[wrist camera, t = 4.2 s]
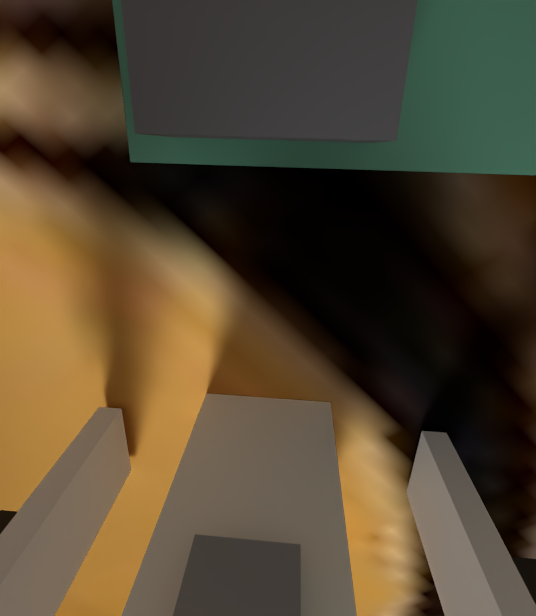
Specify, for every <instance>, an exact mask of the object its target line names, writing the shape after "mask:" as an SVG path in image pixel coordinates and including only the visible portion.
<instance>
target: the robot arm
mask: <svg viewBox="0 0 536 616" xmlns="http://www.w3.org/2000/svg"><path fill="white" fill-rule="evenodd" d="M130 471H131V465H130V459H129V452H128V446H127V440H126V434H125V428H124V422H123V415H122V409H121V408H107V407H99V408H98V409H97V411H96V412H95V413H94V414H93V416H92V417H91V418H90V420H89V421H88V422H87V423H86V425H85V426H84V427H83V429H82V430H81V431H80V432H79V434H78V435H77V436H76V438H75V439H74V440H73V441H72V443H71V444H70V445H69V447H68V448H67V449H66V450H65V452H64V453H63V454H62V456H61V457H60V458H59V459H58V461H57V462H56V463H55V465H54V466H53V467H52V468H51V470H50V471H49V472H48V474H47V475H46V476H45V477H44V479H43V480H42V481H41V483H40V484H39V485H38V486H37V488H36V489H35V490H34V492H33V493H32V494H31V495H30V497H29V498H28V499H27V501H26V502H25V503H24V504H23V506H22V507H21V508H20V510H19V511H18V512H15V511H4V510H1V511H0V616H55V614H56V612H57V610H58V608H59V606H60V604H61V603H62V601H63V599H64V597H65V595H66V593H67V591H68V589H69V587H70V585H71V583H72V582H73V580H74V578H75V576H76V574H77V572H78V570H79V568H80V566H81V564H82V563H83V561H84V559H85V557H86V555H87V553H88V551H89V549H90V547H91V545H92V543H93V542H94V540H95V538H96V536H97V534H98V532H99V530H100V528H101V526H102V524H103V523H104V521H105V519H106V517H107V515H108V513H109V511H110V509H111V507H112V505H113V503H114V502H115V500H116V498H117V496H118V494H119V492H120V490H121V488H122V486H123V484H124V483H125V481H126V479H127V477H128V475H129V473H130ZM407 496H408V499H409V502H410V506H411V509H412V512H413V515H414V518H415V522H416V525H417V528H418V531H419V534H420V538H421V541H422V544H423V547H424V550H425V554H426V557H427V560H428V563H429V566H430V570H431V573H432V576H433V579H434V583H435V586H436V589H437V592H438V595H439V599H440V602H441V605H442V608H443V611H444V615H445V616H536V559H529V558H518V557H511V556H510V554H509V552H508V550H507V549H506V547H505V545H504V543H503V541H502V539H501V537H500V535H499V533H498V531H497V529H496V527H495V525H494V524H493V522H492V520H491V518H490V516H489V514H488V512H487V510H486V508H485V506H484V504H483V502H482V500H481V498H480V497H479V495H478V493H477V491H476V489H475V487H474V485H473V483H472V481H471V479H470V477H469V475H468V473H467V471H466V470H465V468H464V466H463V464H462V462H461V460H460V458H459V456H458V454H457V452H456V450H455V448H454V446H453V444H452V443H451V441H450V439H449V437H448V435H447V433H444V432H430V431H422V432H421V436H420V440H419V444H418V448H417V452H416V456H415V461H414V465H413V469H412V473H411V477H410V481H409V485H408V489H407Z"/></svg>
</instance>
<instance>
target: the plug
mask: <svg viewBox="0 0 536 616" xmlns="http://www.w3.org/2000/svg"><path fill="white" fill-rule="evenodd" d="M122 616H357V615H356V607H355V599H354V590H353V582H352V574H351V566H350V558H349V549H348V541H347V533H346V525H345V517H344V509H343V500H342V492H341V484H340V476H339V468H338V460H337V451H336V443H335V435H334V427H333V419H332V410H331V402H320V401H306V400H292V399H278V398H264V397H250V396H236V395H222V394H208V393H206V396H205V398H204V401H203V404H202V406H201V409H200V412H199V414H198V417H197V419H196V422H195V425H194V427H193V430H192V433H191V435H190V438H189V440H188V443H187V446H186V448H185V451H184V454H183V456H182V459H181V461H180V464H179V467H178V469H177V472H176V475H175V477H174V480H173V482H172V485H171V488H170V490H169V493H168V495H167V498H166V501H165V503H164V506H163V509H162V511H161V514H160V516H159V519H158V522H157V524H156V527H155V530H154V532H153V535H152V537H151V540H150V543H149V545H148V548H147V551H146V553H145V556H144V558H143V561H142V564H141V566H140V569H139V572H138V574H137V577H136V579H135V582H134V585H133V587H132V590H131V593H130V595H129V598H128V600H127V603H126V606H125V608H124V611H123V613H122Z"/></svg>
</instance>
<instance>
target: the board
mask: <svg viewBox="0 0 536 616" xmlns="http://www.w3.org/2000/svg"><path fill="white" fill-rule="evenodd" d="M112 4H113V12H114V21H115V30H116V39H117V48H118V57H119V66H120V75H121V83H122V92H123V101H124V110H125V119H126V128H127V137H128V146H129V154H130V162H142V163H173V164H204V165H234V166H265V167H296V168H327V169H357V170H388V171H419V172H450V173H480V174H511V175H536V0H112Z"/></svg>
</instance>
